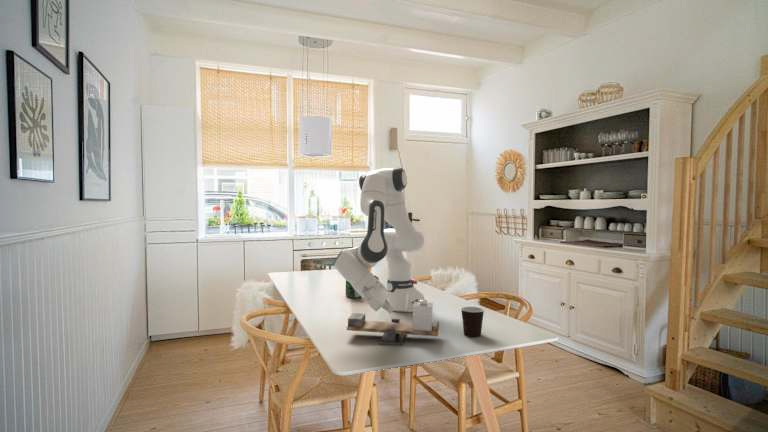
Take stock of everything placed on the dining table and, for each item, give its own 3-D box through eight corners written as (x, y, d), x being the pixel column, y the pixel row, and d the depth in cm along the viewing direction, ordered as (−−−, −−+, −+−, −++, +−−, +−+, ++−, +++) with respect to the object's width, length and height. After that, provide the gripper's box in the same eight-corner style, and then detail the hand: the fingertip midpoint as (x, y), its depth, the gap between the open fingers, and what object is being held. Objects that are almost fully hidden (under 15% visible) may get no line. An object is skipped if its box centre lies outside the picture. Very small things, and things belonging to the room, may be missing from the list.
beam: (346, 330, 157) (346, 319, 156) (352, 322, 166) (353, 312, 166) (437, 336, 151) (438, 324, 151) (438, 328, 161) (439, 317, 161)
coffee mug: (479, 339, 157) (479, 313, 157) (457, 335, 162) (457, 310, 161) (489, 331, 167) (489, 306, 167) (468, 328, 171) (468, 304, 171)
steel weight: (412, 330, 154) (412, 302, 153) (414, 324, 161) (414, 297, 160) (431, 331, 153) (432, 303, 152) (432, 326, 160) (433, 298, 159)
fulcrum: (379, 344, 152) (379, 329, 151) (386, 331, 167) (386, 317, 167) (401, 345, 150) (401, 330, 150) (406, 332, 166) (406, 318, 166)
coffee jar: (343, 295, 233) (343, 262, 232) (356, 294, 236) (356, 261, 236) (350, 299, 224) (350, 264, 224) (363, 297, 228) (363, 263, 227)
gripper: (367, 284, 149) (394, 313, 148) (377, 275, 169) (401, 300, 168) (355, 296, 150) (381, 325, 149) (366, 285, 170) (390, 310, 169)
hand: (392, 311), depth 159 cm, fingers closed
